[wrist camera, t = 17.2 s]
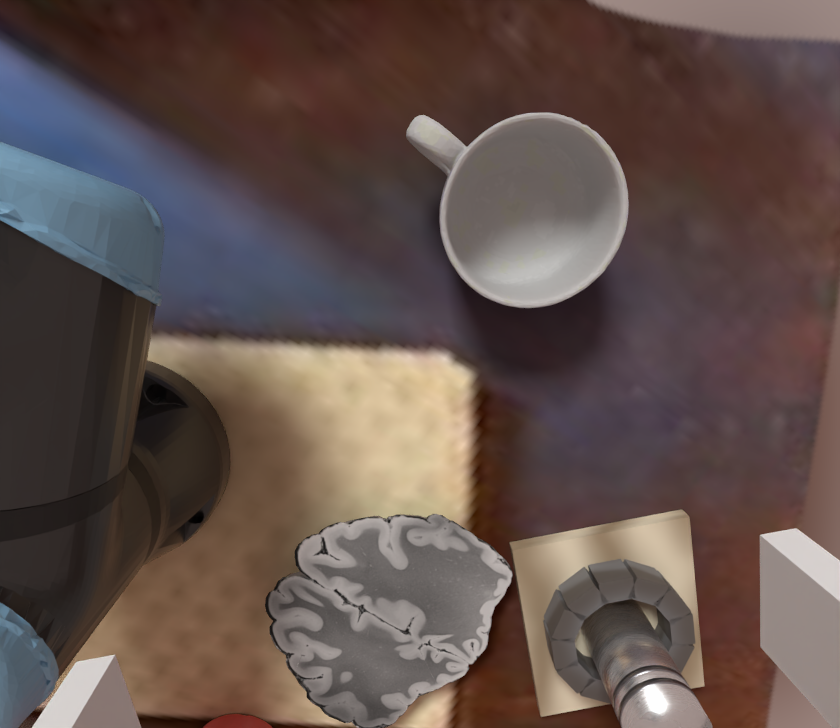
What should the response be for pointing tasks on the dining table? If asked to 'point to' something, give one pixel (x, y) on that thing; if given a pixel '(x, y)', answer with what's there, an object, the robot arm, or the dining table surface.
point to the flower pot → (237, 722)
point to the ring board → (579, 552)
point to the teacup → (527, 206)
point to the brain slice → (385, 613)
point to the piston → (639, 670)
